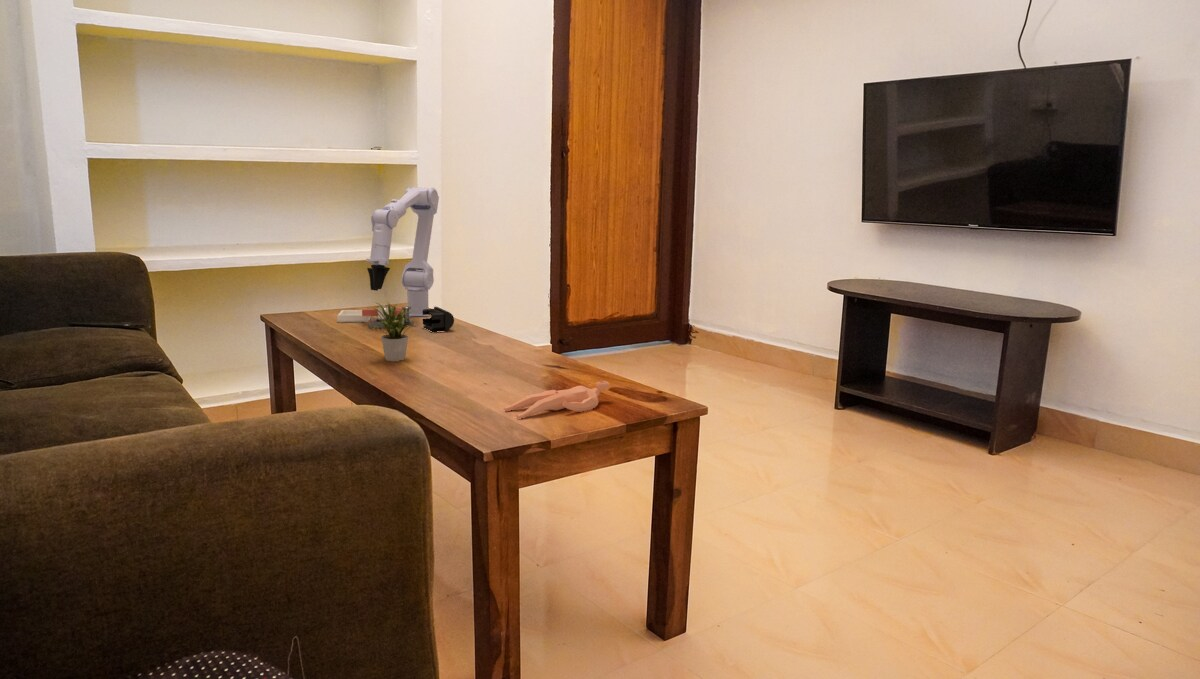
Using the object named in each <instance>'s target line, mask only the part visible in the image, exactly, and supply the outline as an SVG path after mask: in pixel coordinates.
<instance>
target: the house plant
mask: <svg viewBox="0 0 1200 679" xmlns="http://www.w3.org/2000/svg"><path fill="white" fill-rule="evenodd" d="M374 303H375V304H377V305H378V306H379V307H381V309H382V311H383V314H384V316H385V317H386V318H385V317H384V316H383V314H382V313H381V312H380V311H379V310H377V309H378V308H376V307H371V306H370V308H371V309H376V310H377V311H378V312H380V314H381V315H382V316H383V317H384V318H385V320H386V319H387V320H386V321H387V322H386V321H381V322H380V323H382V324H383V325H384V326H383V325H382V326H383V327H385V328H384V329H386V331H387V332H388V334H387V333H386V334H383V335H381V338H380V339H381V343H382V349H383V354H384V359H386V360H385V361H387V362H400V361H399V360H402V361H404V359H405V360H406V355H407V349H408V348H407V347H408V341H409V335H408V334H405V333H406V332H407V331H408V330H409V329H410V328H413V327H415V325H409V324H411V323H412V322H409V323H405V324H404V325H402V322H404V320H405V319H406V318H405V319H404V318H403V317H404V315H405V314H406V312H407V309H408V307H409V306H408V307H407V309H406V310H405V312H404V310H403V311H401V312H400V313H399V314H398V315H397V316H396V315H395V309H397V308H396V307H397V306H398V302H396V304H395V305H394V307H393V306H392V305H391V304H390V302H389V301H387V307H388V312H389V315H388V314H387V313H386V312H385V310H384V308H383V307H382V304H380V303H378V302H377V301H375V302H374ZM417 308H419V307H417ZM415 309H416V308H415ZM415 309H414V310H415ZM412 311H413V310H412ZM412 311H411V312H412ZM411 312H410V313H411ZM375 313H376V312H375ZM410 313H409V314H410ZM377 314H378V313H377ZM409 314H408V315H409ZM378 315H379V314H378ZM408 315H407V316H408ZM379 316H380V315H379ZM380 318H381V317H380ZM381 319H382V318H381ZM382 320H383V319H382ZM406 320H407V319H406ZM375 325H376V324H375ZM379 326H381V325H377V326H374V328H372V330H374V329H381V330H382V328H380V327H379ZM408 326H409V327H408ZM377 327H379V328H377ZM407 327H408V328H407ZM405 328H407V329H406V330H405ZM403 330H405V331H404V332H403ZM402 332H403V334H402Z"/></svg>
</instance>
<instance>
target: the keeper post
mask: <svg viewBox="0 0 1200 679" xmlns="http://www.w3.org/2000/svg"><path fill="white" fill-rule="evenodd" d="M407 307H408V306H407V305H406V306H401V309H403V311H404V312H405V310H406V309H407ZM410 309H411V307H408V309H407V312H406V314H405V315H404V317H403V319H405V318H406V319H407V320H406V319H405V320H404V322H402V326H403V325H404V324H405V323H409V322H412V323H411V324H409V325H408V326H414V321H413V320H411V317H412V316H409V315H408V314H409V310H410ZM404 312H403V313H404ZM407 315H408V316H407Z"/></svg>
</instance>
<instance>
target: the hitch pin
mask: <svg viewBox="0 0 1200 679" xmlns="http://www.w3.org/2000/svg"><path fill="white" fill-rule="evenodd" d="M381 305H382V307H383V308H384V310H385V312H386V313H387V314H388V315H389V312H388V306H386V303H382V304H381ZM377 309H378V310H379V311H380V312H381V313H382V314H383V311H382V309H381V307H380V306H379V307H377ZM380 312H378V314H379V315H380V316H379V315H378V316H377V318H378V322H381V321H386V320H387V319H386V320H385V318H386V317H385V316H384V314H383V316H384V317H385V318H384V317H383V316H382V315H381V314H380ZM380 317H381V318H382V319H383V320H382V319H381V318H380ZM386 322H387V321H386Z"/></svg>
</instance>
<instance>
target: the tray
mask: <svg viewBox="0 0 1200 679" xmlns="http://www.w3.org/2000/svg"><path fill="white" fill-rule="evenodd" d="M336 316H337V323H338V322H339V324H342V322H356V323H355V324H357V323H358V324H359V322H360V324H364V323H365V324H366V323H367V322H368V323H369V321H371V320H370V319H372V316H362V309H342V310H340V312H339V313H338V314H337V315H336ZM362 322H364V323H362ZM368 323H367V324H368Z"/></svg>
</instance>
